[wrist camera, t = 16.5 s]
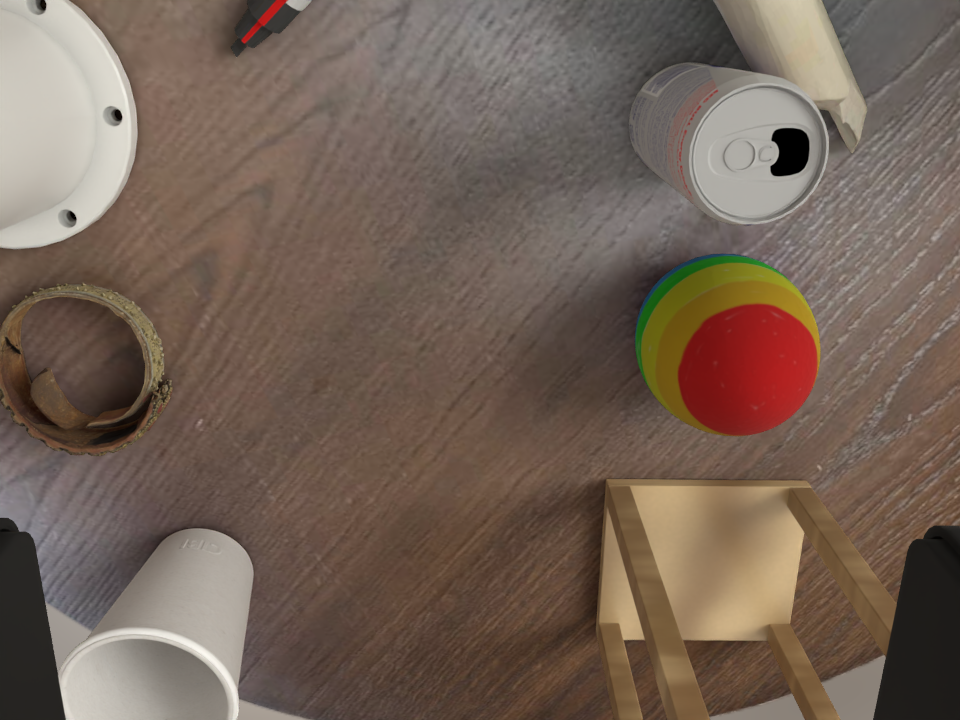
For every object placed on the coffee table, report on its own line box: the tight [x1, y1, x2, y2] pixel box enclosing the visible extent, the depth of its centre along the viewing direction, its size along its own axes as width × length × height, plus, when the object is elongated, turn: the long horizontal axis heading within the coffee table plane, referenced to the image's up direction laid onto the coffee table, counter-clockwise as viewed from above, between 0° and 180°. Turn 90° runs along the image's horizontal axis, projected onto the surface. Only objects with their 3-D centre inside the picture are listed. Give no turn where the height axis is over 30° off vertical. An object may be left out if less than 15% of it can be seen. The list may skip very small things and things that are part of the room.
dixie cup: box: [58, 528, 254, 720], centre depth 47 cm, size 8×8×10 cm
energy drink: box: [629, 62, 829, 225], centre depth 38 cm, size 5×5×12 cm
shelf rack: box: [596, 479, 897, 720], centre depth 41 cm, size 11×10×22 cm
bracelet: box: [0, 283, 173, 456], centre depth 46 cm, size 9×9×3 cm
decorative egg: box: [635, 254, 820, 436], centre depth 42 cm, size 8×8×10 cm
